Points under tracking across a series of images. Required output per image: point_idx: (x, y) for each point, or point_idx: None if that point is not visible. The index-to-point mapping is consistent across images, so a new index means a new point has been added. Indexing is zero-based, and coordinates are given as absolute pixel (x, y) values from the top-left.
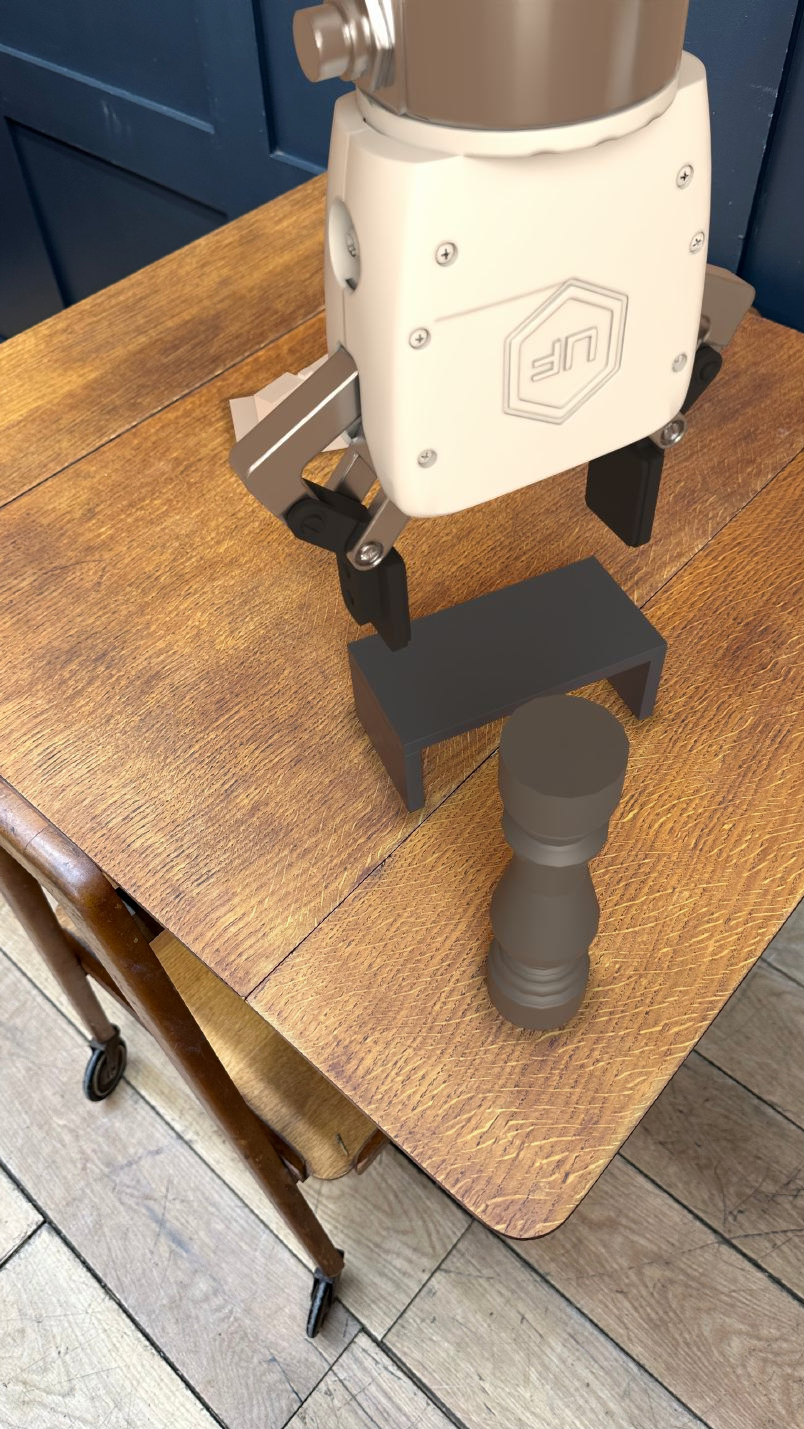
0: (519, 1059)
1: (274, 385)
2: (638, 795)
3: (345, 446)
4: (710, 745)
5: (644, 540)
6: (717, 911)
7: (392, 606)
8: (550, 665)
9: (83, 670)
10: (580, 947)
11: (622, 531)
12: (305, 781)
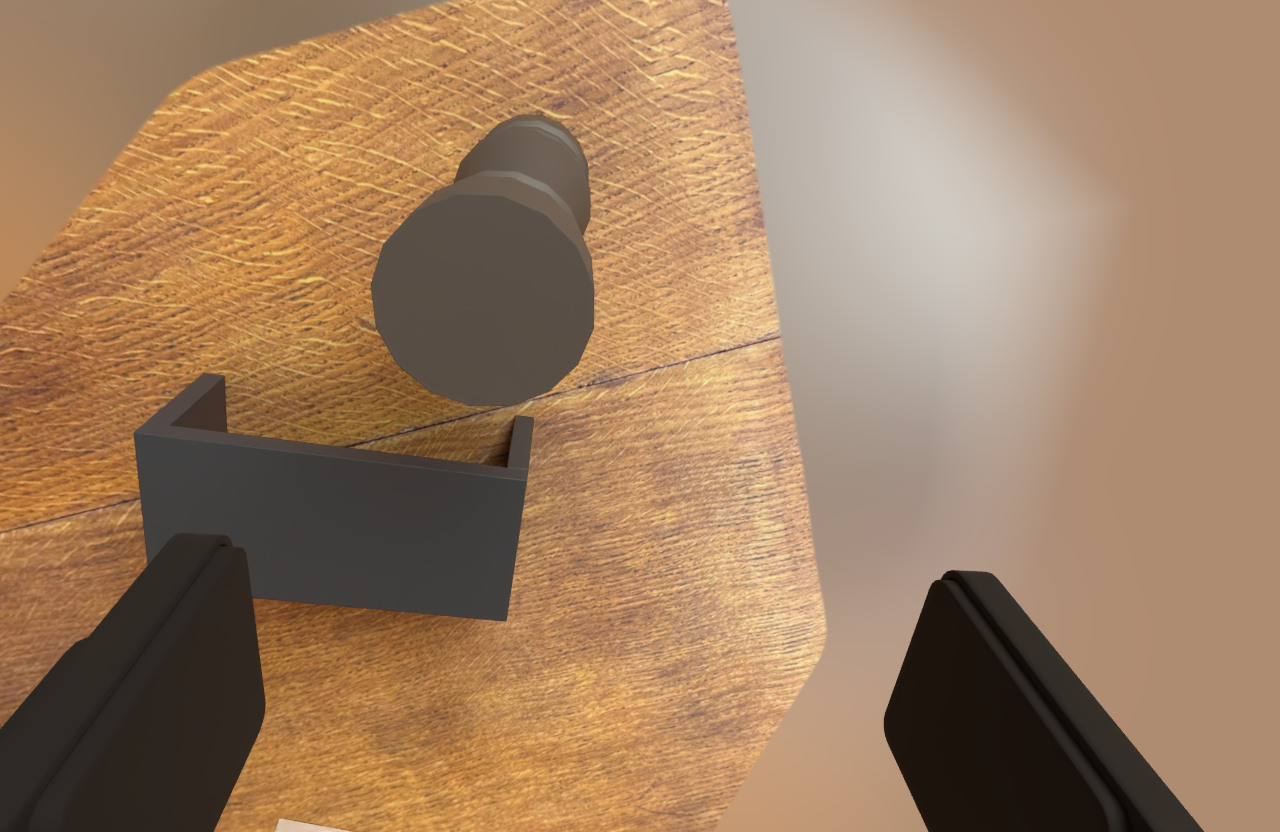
0: (600, 112)
1: None
2: (285, 295)
3: (334, 830)
4: (157, 300)
5: (192, 542)
6: (288, 115)
7: (1084, 690)
8: (301, 482)
9: (718, 709)
10: (516, 132)
11: (237, 598)
12: (605, 503)
